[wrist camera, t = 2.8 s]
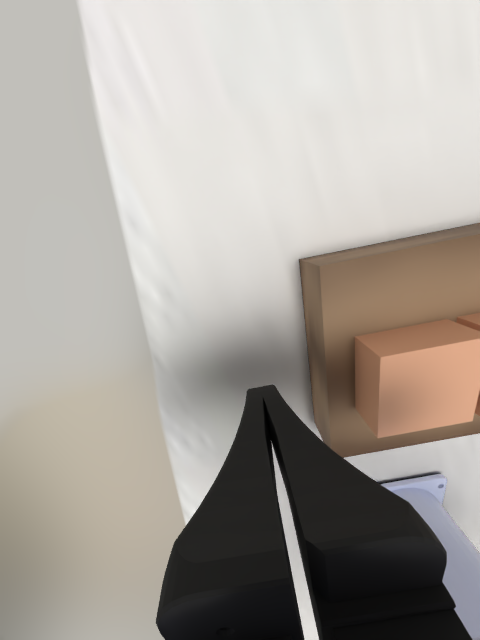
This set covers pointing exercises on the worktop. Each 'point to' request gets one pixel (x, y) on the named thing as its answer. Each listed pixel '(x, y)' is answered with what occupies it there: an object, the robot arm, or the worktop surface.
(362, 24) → the worktop surface
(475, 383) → the tile
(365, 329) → the board
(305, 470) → the robot arm
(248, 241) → the worktop surface
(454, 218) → the worktop surface
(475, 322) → the tile
